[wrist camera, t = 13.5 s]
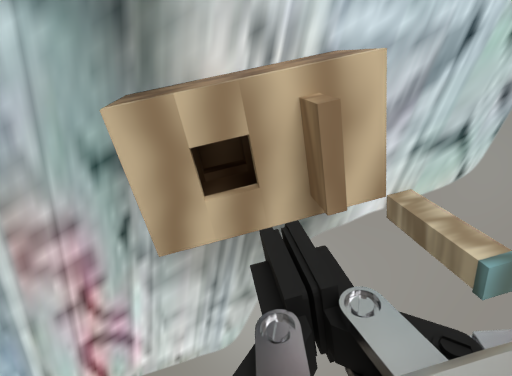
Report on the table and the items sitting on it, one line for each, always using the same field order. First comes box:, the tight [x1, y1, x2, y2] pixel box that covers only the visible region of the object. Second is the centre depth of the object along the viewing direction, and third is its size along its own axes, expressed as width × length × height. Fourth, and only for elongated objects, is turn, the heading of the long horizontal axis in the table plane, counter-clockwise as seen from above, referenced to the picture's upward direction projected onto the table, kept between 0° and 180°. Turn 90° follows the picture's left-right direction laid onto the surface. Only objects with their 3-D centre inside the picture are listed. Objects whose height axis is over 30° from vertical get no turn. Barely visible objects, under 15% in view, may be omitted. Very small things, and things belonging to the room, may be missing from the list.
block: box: [387, 190, 512, 300], centre depth 31 cm, size 4×4×14 cm
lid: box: [100, 48, 387, 257], centre depth 22 cm, size 20×12×4 cm, turn 101°
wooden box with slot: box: [106, 49, 374, 196], centre depth 27 cm, size 20×12×7 cm, turn 101°
